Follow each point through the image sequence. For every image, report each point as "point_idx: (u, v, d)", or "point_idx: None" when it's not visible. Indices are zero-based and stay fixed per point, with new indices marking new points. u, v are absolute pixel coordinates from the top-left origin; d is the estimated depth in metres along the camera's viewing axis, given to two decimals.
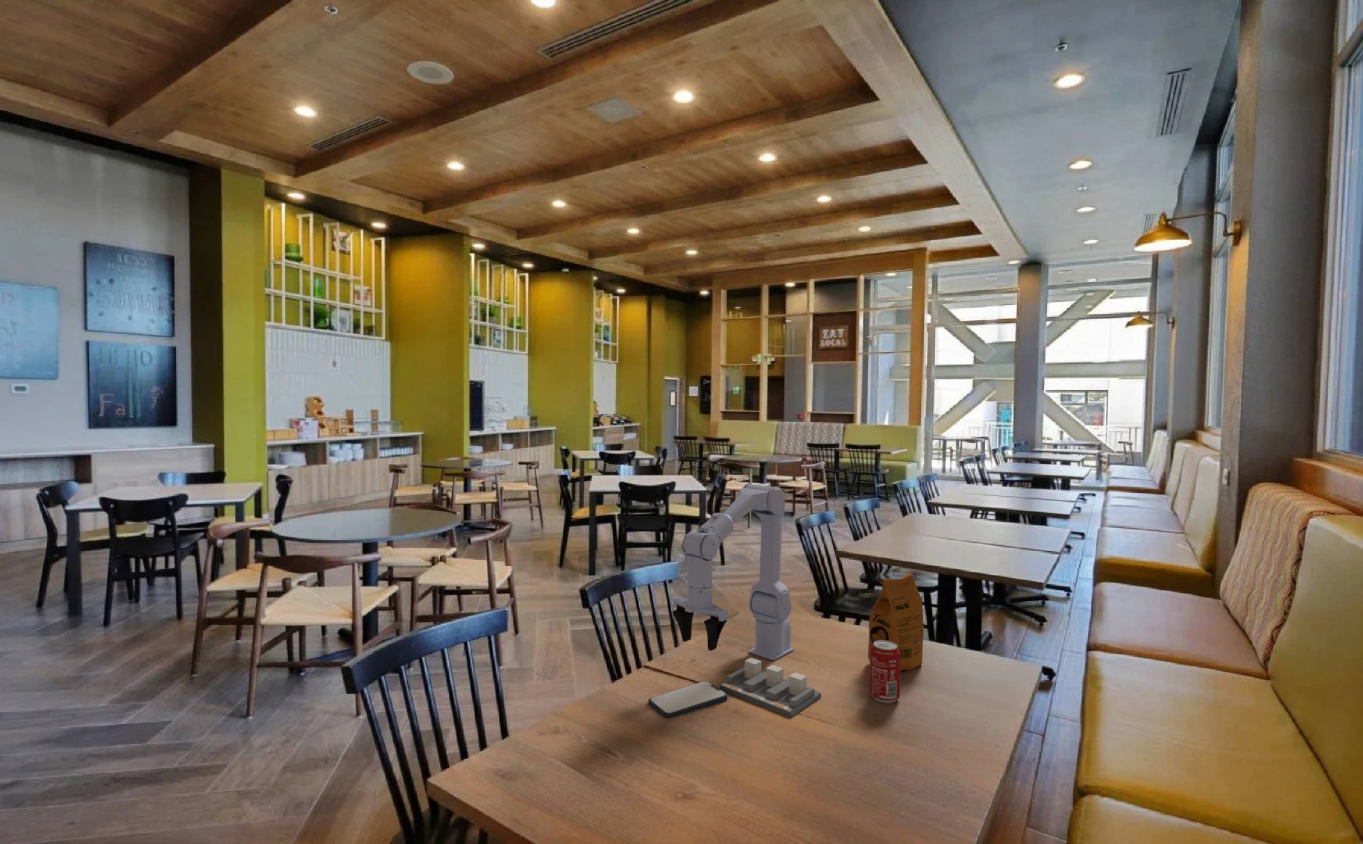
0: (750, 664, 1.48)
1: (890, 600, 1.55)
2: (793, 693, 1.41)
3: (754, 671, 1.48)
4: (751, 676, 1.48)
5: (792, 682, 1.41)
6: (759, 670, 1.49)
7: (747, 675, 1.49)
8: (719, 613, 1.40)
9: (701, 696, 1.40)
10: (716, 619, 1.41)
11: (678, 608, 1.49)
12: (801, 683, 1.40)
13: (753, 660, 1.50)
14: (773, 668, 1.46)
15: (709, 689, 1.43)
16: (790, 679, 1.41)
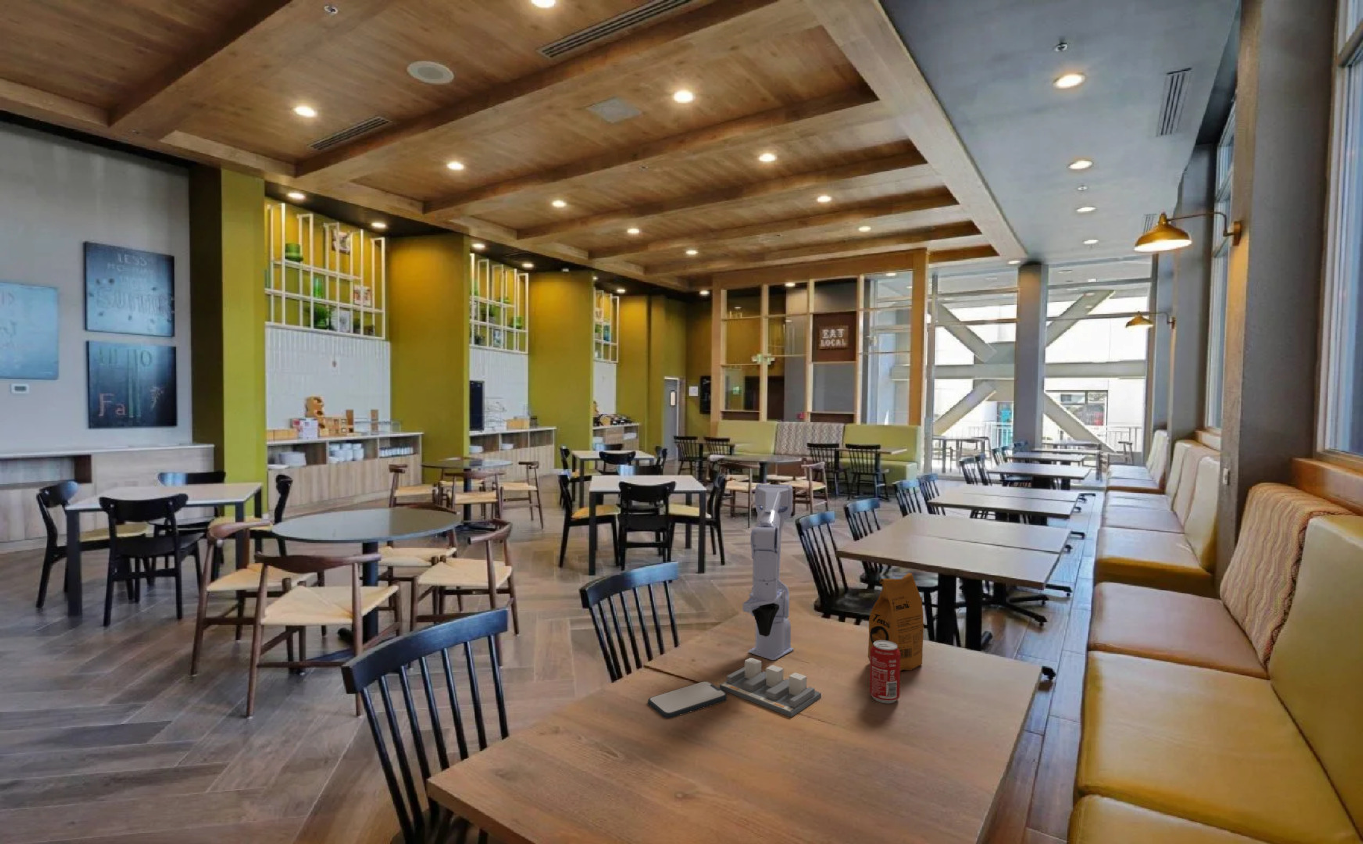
0: (750, 664, 1.48)
1: (890, 600, 1.55)
2: (793, 693, 1.41)
3: (754, 671, 1.48)
4: (751, 676, 1.48)
5: (792, 682, 1.41)
6: (759, 670, 1.49)
7: (747, 675, 1.49)
8: None
9: (700, 696, 1.40)
10: None
11: None
12: (801, 683, 1.40)
13: (753, 660, 1.50)
14: (773, 668, 1.46)
15: (709, 689, 1.43)
16: (790, 679, 1.41)
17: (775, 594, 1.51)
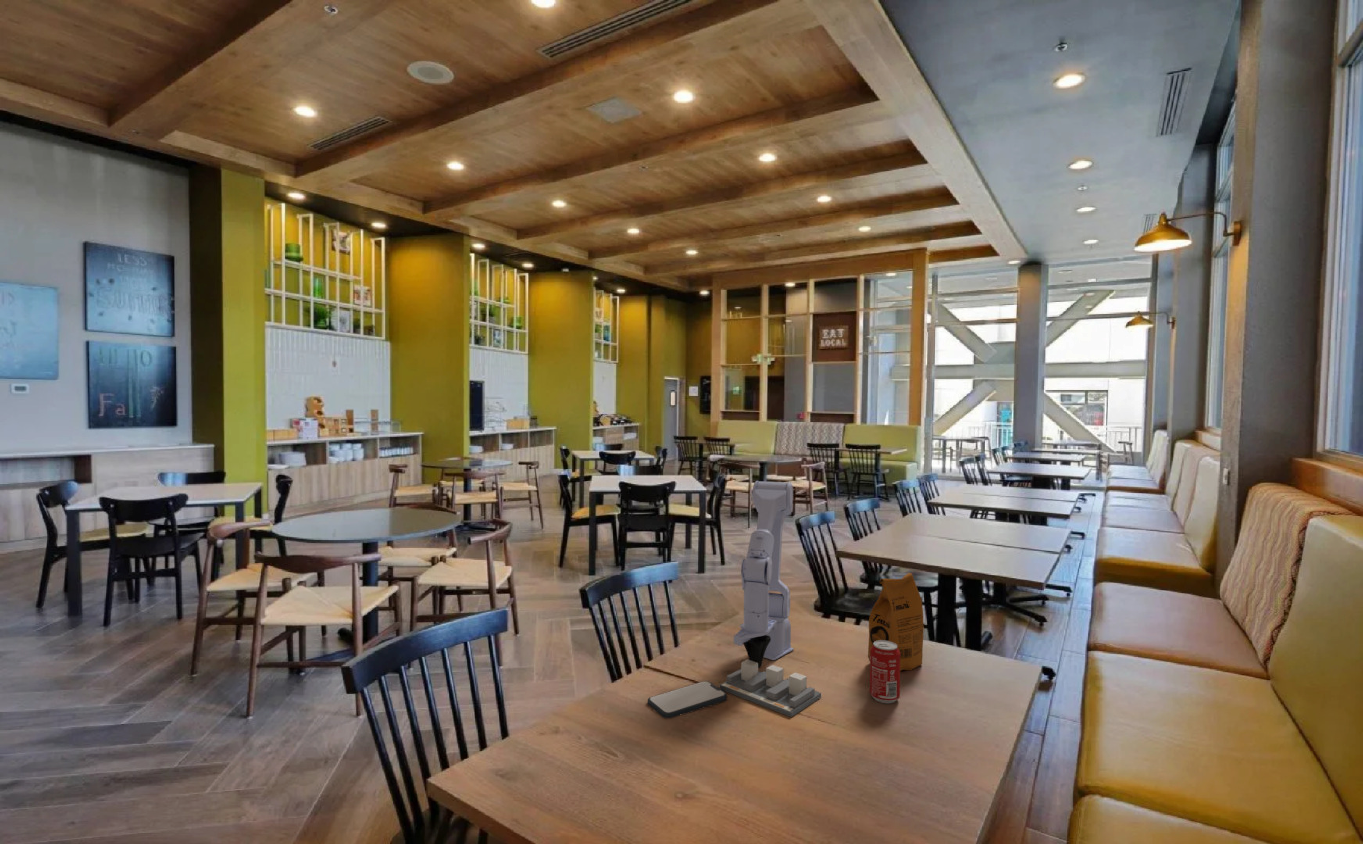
0: (747, 666, 1.47)
1: (890, 600, 1.55)
2: (793, 693, 1.41)
3: (751, 673, 1.47)
4: (748, 678, 1.47)
5: (792, 682, 1.41)
6: (756, 672, 1.48)
7: (744, 677, 1.48)
8: None
9: (700, 695, 1.40)
10: None
11: None
12: (801, 683, 1.40)
13: (750, 662, 1.49)
14: (773, 668, 1.46)
15: (709, 689, 1.43)
16: (790, 679, 1.41)
17: (766, 626, 1.48)
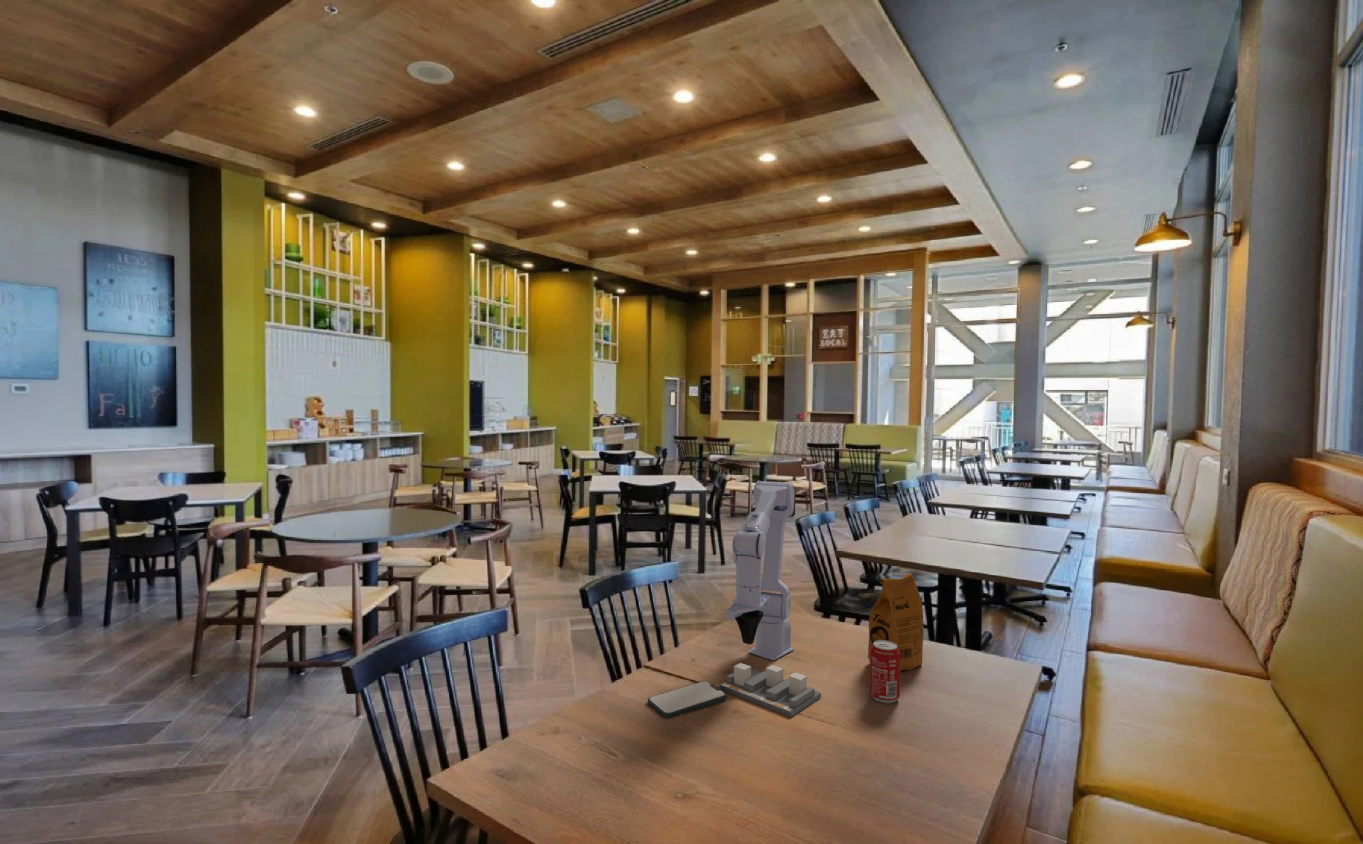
0: (740, 670, 1.45)
1: (890, 600, 1.55)
2: (793, 693, 1.41)
3: (743, 677, 1.45)
4: (740, 682, 1.45)
5: (792, 682, 1.41)
6: (749, 676, 1.46)
7: (737, 681, 1.46)
8: None
9: (700, 696, 1.40)
10: None
11: None
12: (801, 683, 1.40)
13: (743, 665, 1.47)
14: (773, 668, 1.46)
15: (709, 689, 1.43)
16: (790, 679, 1.41)
17: (759, 601, 1.46)
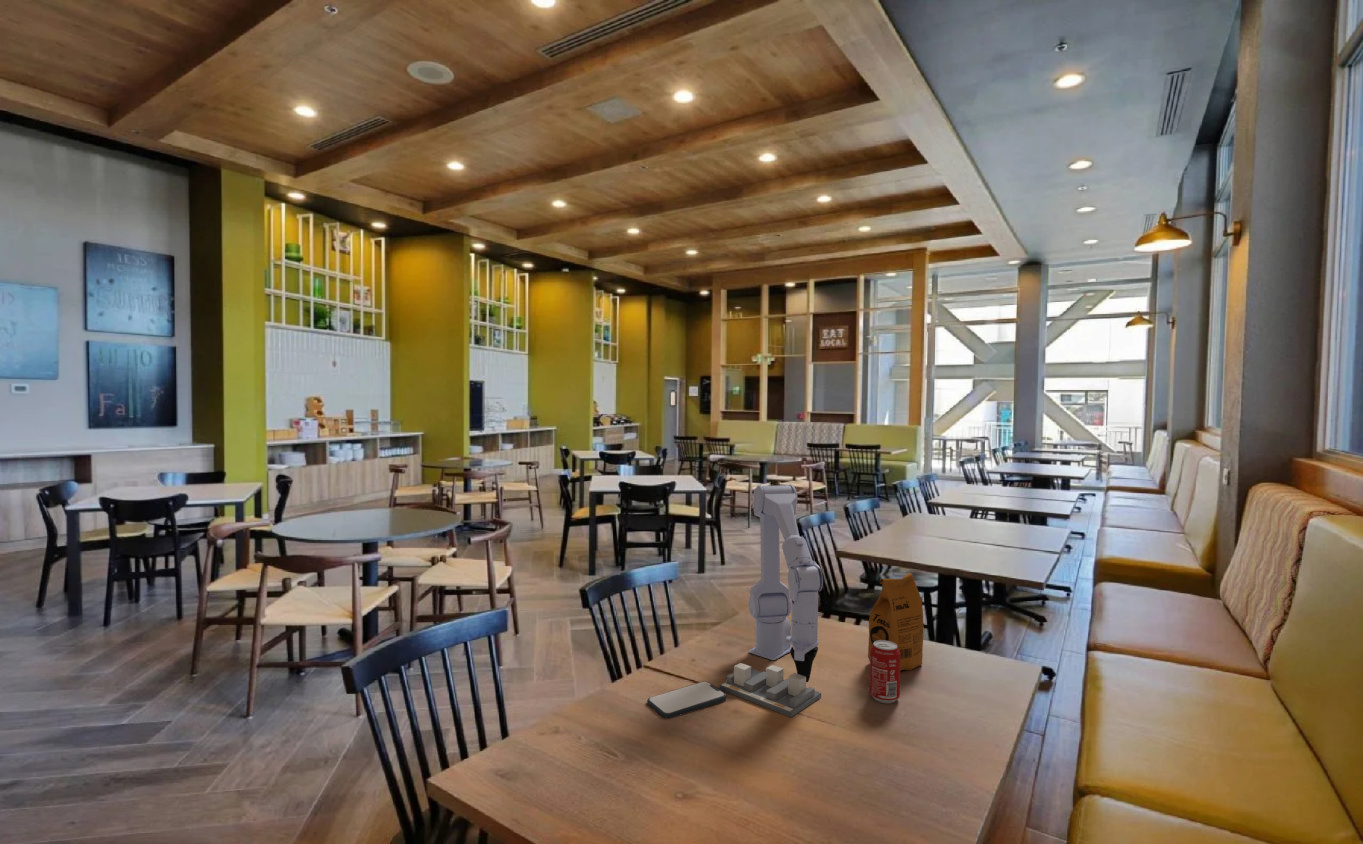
0: (740, 670, 1.45)
1: (890, 600, 1.55)
2: (793, 693, 1.41)
3: (743, 677, 1.45)
4: (740, 682, 1.45)
5: (791, 682, 1.41)
6: (749, 676, 1.46)
7: (737, 681, 1.46)
8: (794, 651, 1.37)
9: (700, 696, 1.40)
10: None
11: None
12: (801, 683, 1.40)
13: (743, 665, 1.47)
14: (773, 668, 1.46)
15: (709, 690, 1.43)
16: (789, 679, 1.41)
17: (817, 636, 1.42)
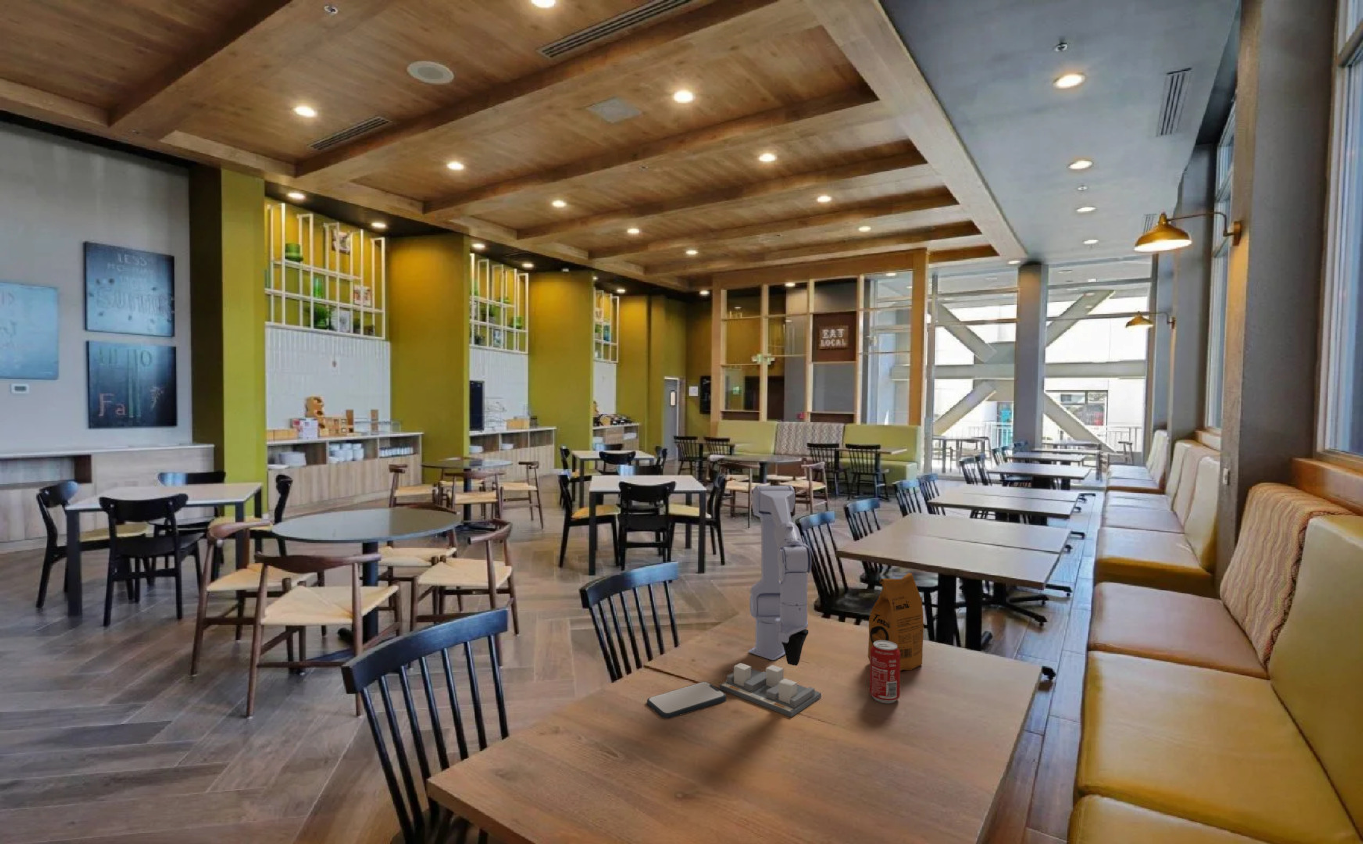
0: (740, 670, 1.45)
1: (890, 600, 1.55)
2: (783, 699, 1.38)
3: (743, 677, 1.45)
4: (740, 682, 1.45)
5: (782, 688, 1.38)
6: (749, 676, 1.46)
7: (737, 681, 1.46)
8: None
9: (699, 696, 1.40)
10: None
11: None
12: (791, 689, 1.37)
13: (743, 665, 1.47)
14: (773, 668, 1.46)
15: (708, 690, 1.43)
16: (780, 685, 1.38)
17: (806, 619, 1.38)
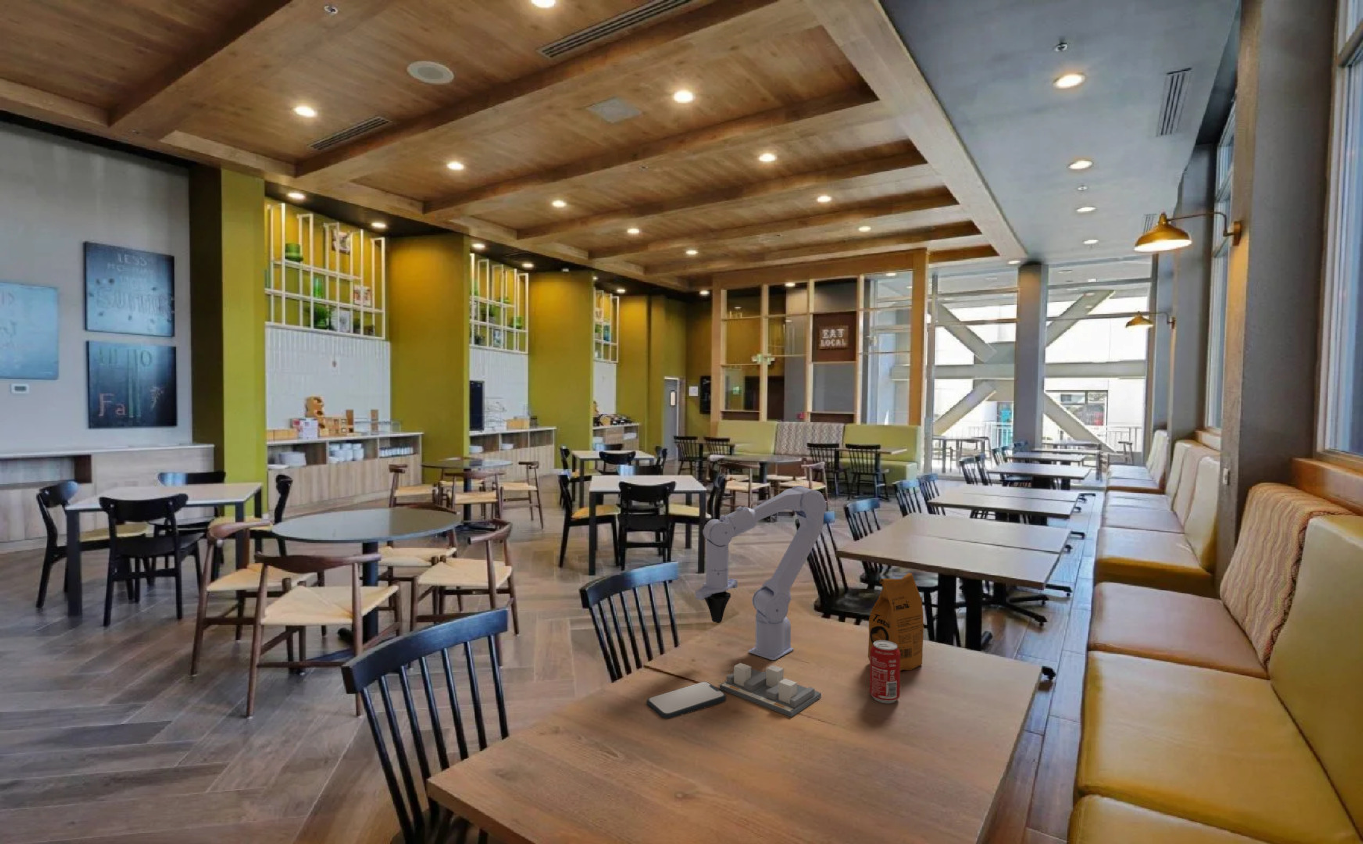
0: (740, 670, 1.45)
1: (890, 600, 1.55)
2: (783, 699, 1.38)
3: (743, 677, 1.45)
4: (740, 682, 1.45)
5: (782, 688, 1.38)
6: (749, 676, 1.46)
7: (737, 681, 1.46)
8: None
9: (699, 696, 1.40)
10: None
11: None
12: (791, 689, 1.37)
13: (743, 665, 1.47)
14: (773, 668, 1.46)
15: (708, 690, 1.43)
16: (780, 685, 1.38)
17: (726, 583, 1.61)
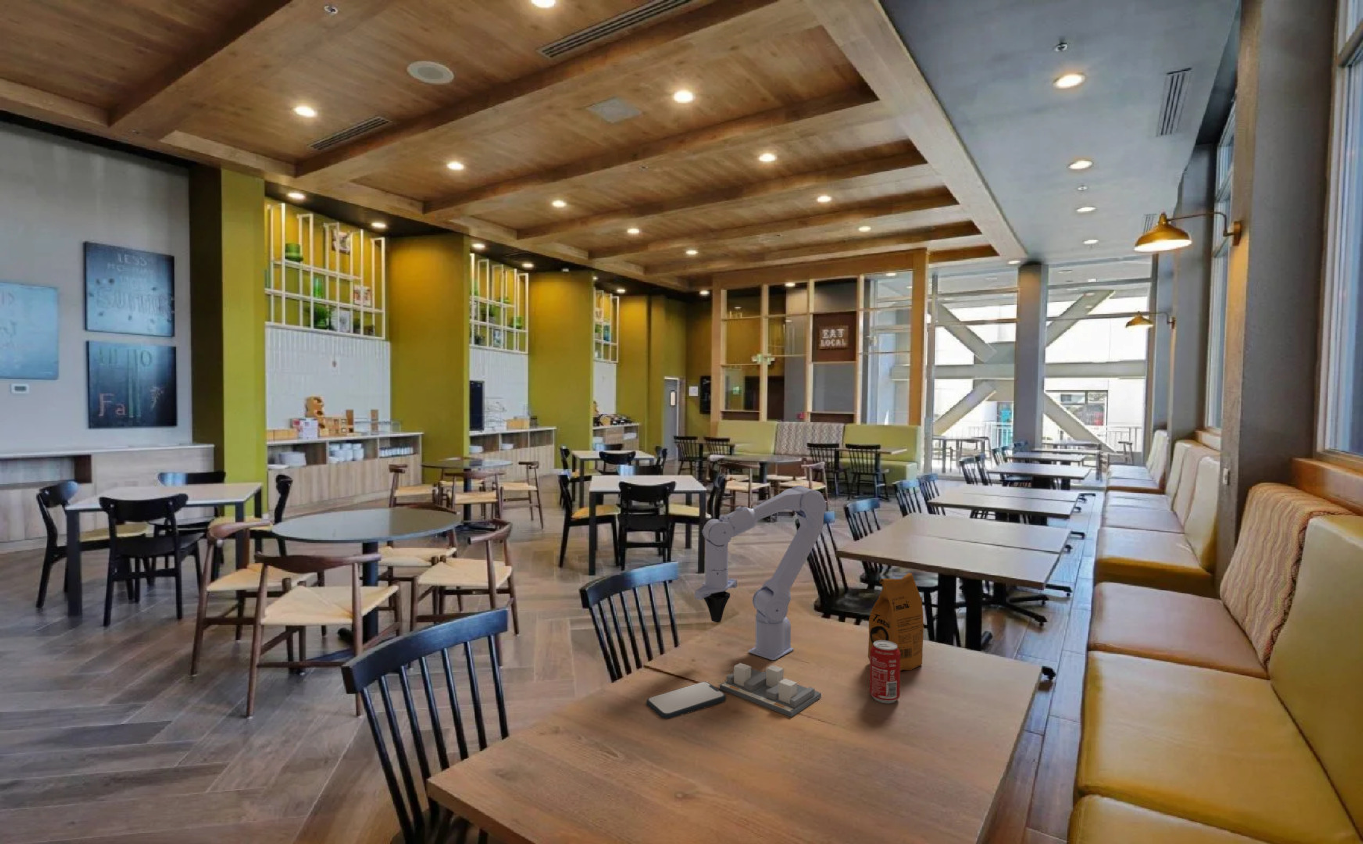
0: (740, 670, 1.45)
1: (890, 600, 1.55)
2: (783, 699, 1.38)
3: (743, 677, 1.45)
4: (740, 682, 1.45)
5: (782, 688, 1.38)
6: (749, 676, 1.46)
7: (737, 681, 1.46)
8: None
9: (699, 696, 1.40)
10: None
11: None
12: (791, 689, 1.37)
13: (743, 665, 1.47)
14: (773, 668, 1.46)
15: (708, 690, 1.43)
16: (780, 685, 1.38)
17: (726, 583, 1.61)
